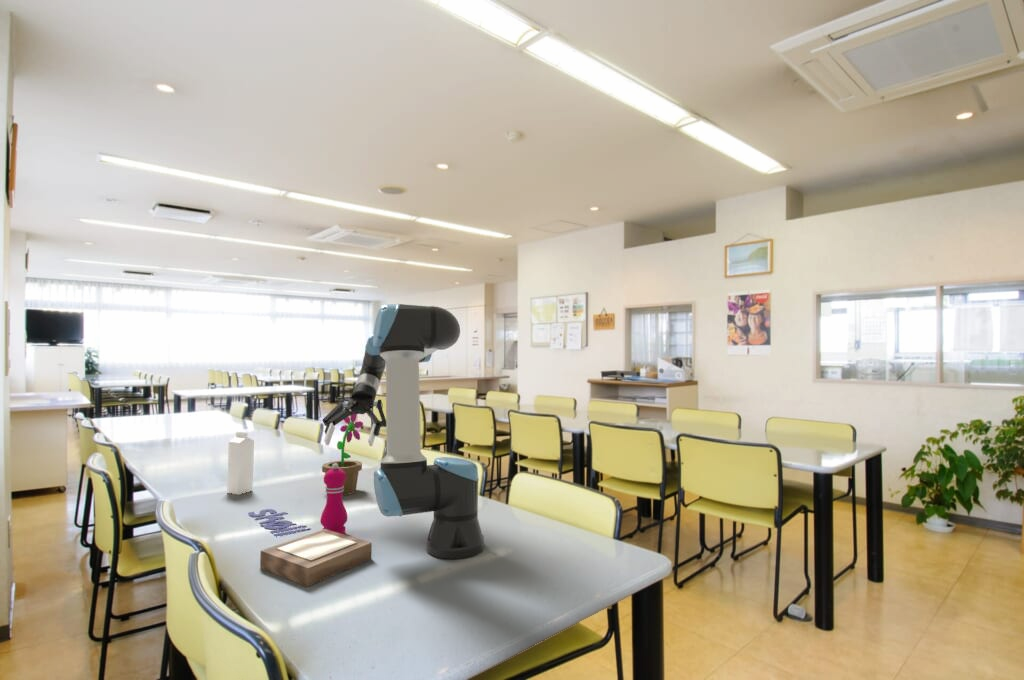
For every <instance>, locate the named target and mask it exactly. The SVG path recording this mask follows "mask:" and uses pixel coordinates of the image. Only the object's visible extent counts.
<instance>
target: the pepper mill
mask: <svg viewBox="0 0 1024 680" xmlns="http://www.w3.org/2000/svg"><path fill="white" fill-rule="evenodd" d="M332 468H333V469H331V470H329V471H327V472H326V473H324V476H323V482H324V483H323V484H324V485H326V486H325V493H326V503H325V506H324V508H323V510H322V512H321V516H320V525H321V526H322V527H323V528H322V529H321V530H324V529H327V530H330V531H334V532H337V533H341V534H344V535H346V523H347V521H348V512H347V510H346V508H345V504H344V502H343V495H342V492H343V491H344V485H343V483H344V482H345V481H346V474H345V472H344V471H343V470H341V469H338V464H337V463H334V464H333V465H332Z"/></svg>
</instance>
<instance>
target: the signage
mask: <svg viewBox="0 0 1024 680" xmlns="http://www.w3.org/2000/svg"><path fill="white" fill-rule="evenodd" d="M268 511H269V513H270V514H269V515H266V514H267V513H268ZM274 513H275V514H274ZM247 514H248V516H249V517H251V518H254V521H259V519H260V520H263V519H264V518H265V519H267V518H268V519H269V520H268V519H267V520H265V519H264V520H263V521H260V522H259V527H261V528H264V529H265V530H268V531H270V533H271V534H272V535H273V536H274V537H275V536H276V537H275V538H278V537H277V536H280V537H283V535H285V536H288V534H289V535H292V533H293V534H297V533H296V532H298V533H301V532H300V531H302V532H306V531H305V530H307V531H310V530H309V529H311V528H309V527H306V526H307V525H297V523H295V522H294V523H293V522H292V521H291V520H285V517H284V515H283V514H285V515H288V514H289V513H288V512H285V511H283V512H282V511H281V512H278V513H277V510H275V509H273V508H270V509H269V508H267V509H262V510H260V511H259V513H258V514H255V511H251V512H250V511H249V512H248V513H247ZM279 515H280V516H279ZM261 516H262V517H261ZM255 518H256V519H255ZM279 519H280V520H279ZM283 523H284V524H283ZM289 526H290V527H289ZM291 526H292V527H291ZM297 526H298V527H297ZM287 527H288V528H287ZM301 527H303V528H301ZM283 528H284V529H283ZM297 528H299V529H297ZM305 528H308V529H305ZM277 529H279V530H277ZM293 529H294V530H295V531H294V530H293ZM300 529H301V530H300ZM289 530H290V531H289ZM284 531H285V532H284ZM280 532H281V533H280ZM274 533H276V534H274Z"/></svg>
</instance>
